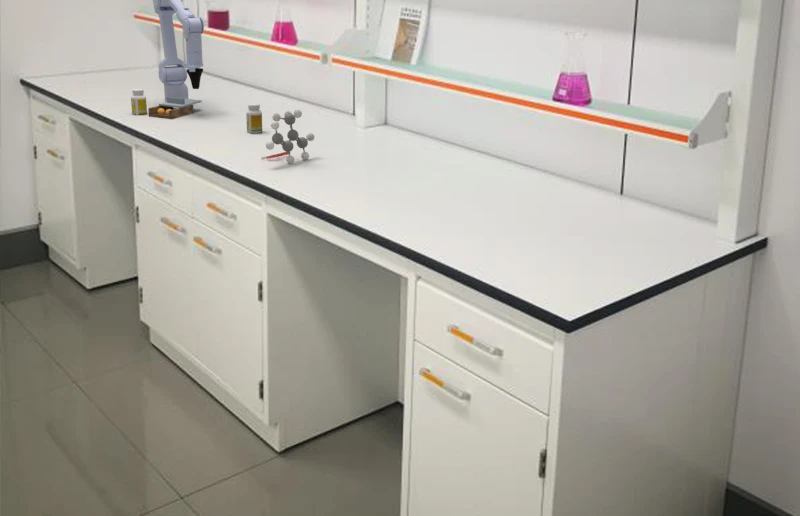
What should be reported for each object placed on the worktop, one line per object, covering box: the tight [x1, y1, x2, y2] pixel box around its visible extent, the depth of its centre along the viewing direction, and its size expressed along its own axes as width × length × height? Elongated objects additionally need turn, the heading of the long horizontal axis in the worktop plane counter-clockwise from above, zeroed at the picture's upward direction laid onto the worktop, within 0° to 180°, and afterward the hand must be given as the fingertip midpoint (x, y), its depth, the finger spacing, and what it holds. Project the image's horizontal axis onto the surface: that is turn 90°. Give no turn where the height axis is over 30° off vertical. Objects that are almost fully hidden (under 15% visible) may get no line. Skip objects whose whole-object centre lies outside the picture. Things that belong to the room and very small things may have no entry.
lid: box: [158, 97, 202, 108], centre depth 339 cm, size 14×10×3 cm
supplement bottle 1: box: [130, 88, 148, 116], centre depth 333 cm, size 5×5×10 cm
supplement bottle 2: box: [245, 103, 263, 134], centre depth 313 cm, size 5×5×10 cm
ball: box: [157, 108, 165, 115], centre depth 332 cm, size 3×3×3 cm
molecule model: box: [260, 109, 315, 165], centre depth 276 cm, size 20×16×16 cm
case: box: [147, 104, 194, 120], centre depth 335 cm, size 14×10×4 cm
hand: (195, 88), depth 333 cm, fingers closed
